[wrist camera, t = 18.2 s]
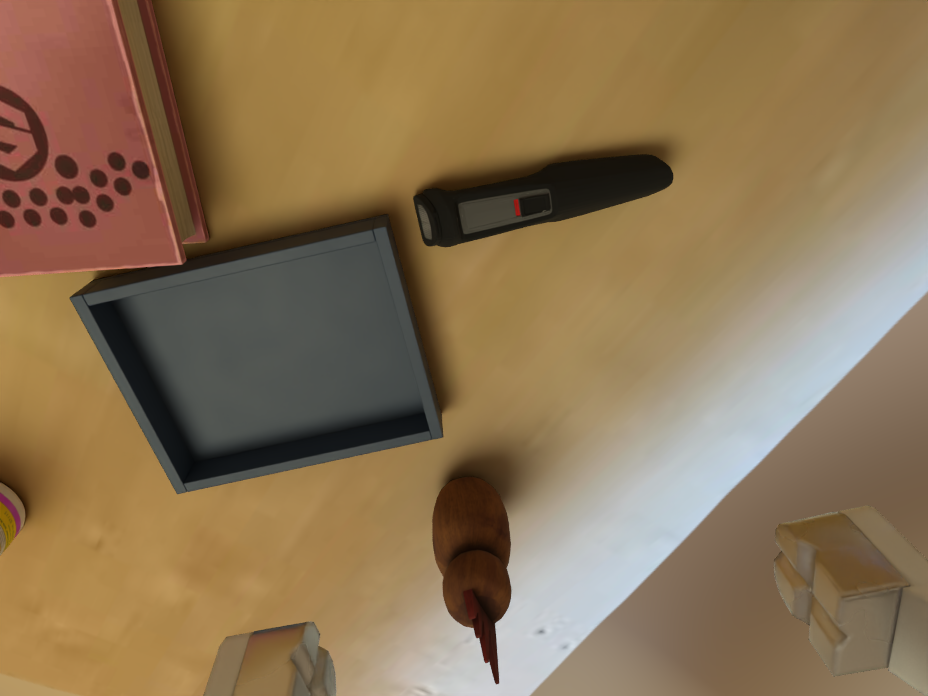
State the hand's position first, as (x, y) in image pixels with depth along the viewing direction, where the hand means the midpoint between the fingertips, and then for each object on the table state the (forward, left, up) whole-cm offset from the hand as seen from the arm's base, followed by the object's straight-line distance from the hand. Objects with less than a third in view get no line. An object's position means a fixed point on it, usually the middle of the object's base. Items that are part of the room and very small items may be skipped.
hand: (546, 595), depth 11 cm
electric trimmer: (-5, +1, -31) cm, 32 cm away
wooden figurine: (+4, +24, -31) cm, 40 cm away
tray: (+14, +8, -31) cm, 35 cm away
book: (+22, -9, -31) cm, 39 cm away
